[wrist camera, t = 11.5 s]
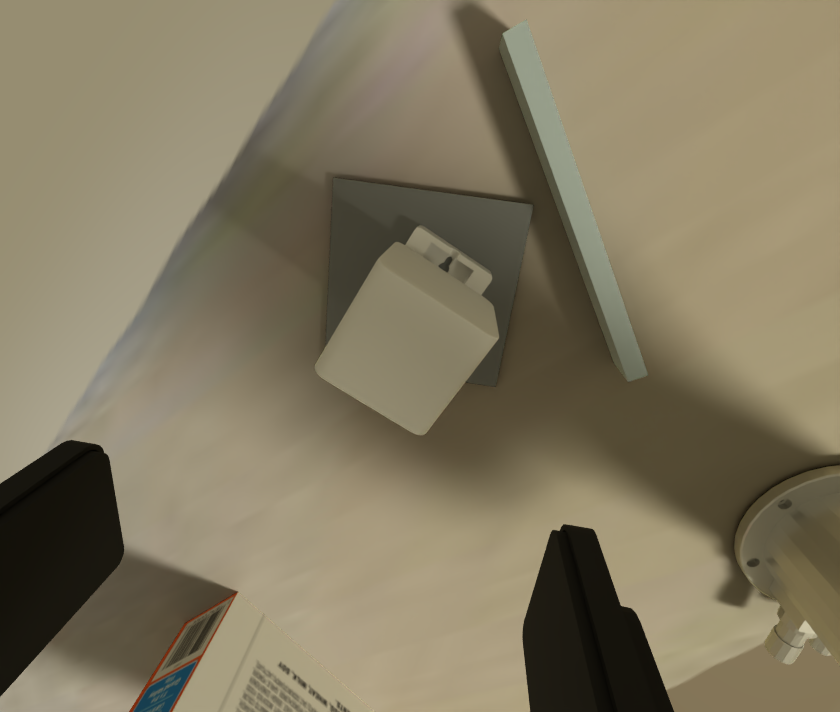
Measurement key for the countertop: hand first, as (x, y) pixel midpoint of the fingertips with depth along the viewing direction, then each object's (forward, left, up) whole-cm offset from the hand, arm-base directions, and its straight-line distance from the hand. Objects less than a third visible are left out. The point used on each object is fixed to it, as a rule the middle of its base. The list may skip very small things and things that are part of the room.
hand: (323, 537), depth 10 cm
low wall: (+6, -8, -22) cm, 24 cm away
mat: (0, 0, -22) cm, 22 cm away
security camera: (0, 0, -22) cm, 22 cm away
